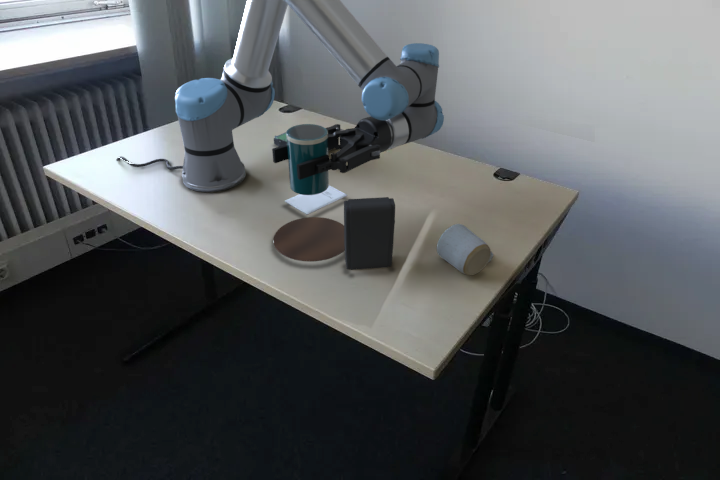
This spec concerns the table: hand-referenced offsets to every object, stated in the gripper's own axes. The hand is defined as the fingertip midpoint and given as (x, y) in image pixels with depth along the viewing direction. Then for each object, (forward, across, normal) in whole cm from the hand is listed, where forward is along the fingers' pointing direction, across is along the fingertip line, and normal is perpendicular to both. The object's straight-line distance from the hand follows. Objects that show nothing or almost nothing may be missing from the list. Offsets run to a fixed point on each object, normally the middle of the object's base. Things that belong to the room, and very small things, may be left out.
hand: (285, 163), depth 93 cm
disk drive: (-30, +40, -20) cm, 54 cm away
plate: (-5, 0, -20) cm, 20 cm away
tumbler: (-5, 0, -6) cm, 8 cm away
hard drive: (-15, +12, -20) cm, 28 cm away
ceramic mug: (-25, -24, -20) cm, 40 cm away
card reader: (-9, -14, -20) cm, 26 cm away
